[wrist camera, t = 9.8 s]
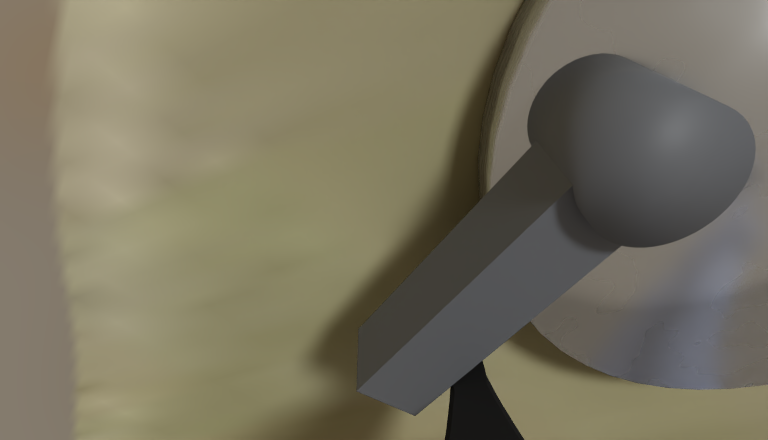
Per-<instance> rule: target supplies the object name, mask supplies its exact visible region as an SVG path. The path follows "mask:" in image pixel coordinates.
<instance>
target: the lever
mask: <svg viewBox="0 0 768 440" xmlns="http://www.w3.org/2000/svg"><path fill="white" fill-rule="evenodd" d="M527 132H528V138H529V142H530V144H531V147H530V148H529V149H528V150H527V151H526V152H525V154H524V155H523V156H522V157H521V158H520V159H519V160H518V161H517V162H516V163H515V164H514V165H513V166H512V167H511V168H510V169H509V170H508V171H507V173H506V174H505V175H504V176H503V177H502V178H501V179H500V180H499V181H498V182H497V183H496V184H495V185H494V186H493V187H492V188H491V189H490V191H489V192H488V193H487V194H486V195H485V196H484V197H483V198H482V199H481V200H480V201H479V202H478V203H477V204H476V205H475V206H474V207H473V208H472V210H471V211H470V212H469V213H468V214H467V215H466V216H465V217H464V218H463V219H462V220H461V221H460V222H459V223H458V224H457V225H456V226H455V228H454V229H453V230H452V231H451V232H450V233H449V234H448V235H447V236H446V237H445V238H444V239H443V240H442V241H441V242H440V243H439V244H438V245H437V247H436V248H435V249H434V250H433V251H432V252H431V253H430V254H429V255H428V256H427V257H426V258H425V259H424V260H423V261H422V262H421V263H420V265H419V266H418V267H417V268H416V269H415V270H414V271H413V272H412V273H411V274H410V275H409V276H408V277H407V278H406V279H405V280H404V281H403V282H402V284H401V285H400V286H399V287H398V288H397V289H396V290H395V291H394V292H393V293H392V294H391V295H390V296H389V297H388V298H387V299H386V300H385V301H384V303H383V304H382V305H381V306H380V307H379V308H378V309H377V310H376V311H375V312H374V313H373V314H372V315H371V316H370V317H369V318H368V319H367V321H366V322H365V323H364V324H363V325H362V326H361V327H360V328H359V331H358V361H357V392H359V393H362V394H364V395H367V396H369V397H371V398H374V399H376V400H378V401H381V402H383V403H386V404H388V405H390V406H393V407H395V408H397V409H400V410H402V411H405V412H407V413H409V414H412V415H414V416H416V415H417V414H418V413H419V412H421V411H422V410H423V409H424V408H425V407H427V406H428V405H429V404H430V403H432V402H433V401H434V400H435V399H436V398H438V397H439V396H440V395H441V394H442V393H444V392H445V391H446V390H447V389H448V388H450V387H451V386H452V385H453V384H455V383H456V382H457V381H458V380H459V379H461V378H462V377H463V376H464V375H465V374H467V373H468V372H469V371H470V370H472V369H473V368H474V367H475V366H476V365H478V364H479V363H480V362H481V361H482V360H484V359H485V358H486V357H487V356H489V355H490V354H491V353H492V352H493V351H495V350H496V349H497V348H498V347H499V346H501V345H502V344H503V343H504V342H506V341H507V340H508V339H509V338H510V337H512V336H513V335H514V334H515V333H516V332H518V331H519V330H520V329H521V328H522V327H524V326H525V325H526V324H527V323H529V322H530V321H531V320H532V319H533V318H535V317H536V316H537V315H538V314H539V313H541V312H542V311H543V310H544V309H546V308H547V307H548V306H549V305H550V304H552V303H553V302H554V301H555V300H556V299H558V298H559V297H560V296H561V295H563V294H564V293H565V292H566V291H567V290H569V289H570V288H571V287H572V286H573V285H575V284H576V283H577V282H578V281H579V280H581V279H582V278H583V277H584V276H586V275H587V274H588V273H589V272H590V271H592V270H593V269H594V268H595V267H596V266H598V265H599V264H600V263H601V262H603V261H604V260H605V259H606V258H607V257H609V256H610V255H611V254H612V253H613V252H615V251H616V250H617V249H618V248H620V247H621V246H625V247H633V248H646V247H655V246H660V245H665V244H668V243H672V242H675V241H678V240H680V239H683V238H685V237H687V236H689V235H691V234H693V233H695V232H697V231H699V230H700V229H702V228H704V227H705V226H707V225H708V224H710V223H711V222H712V221H714V220H715V219H716V218H717V217H719V216H720V215H721V214H722V213H723V212H724V211H725V210H726V209H727V208H728V207H729V206H730V205H731V204H732V203H733V201H734V200H735V199H736V198H737V197H738V195H739V194H740V192H741V191H742V189H743V188H744V186H745V184H746V182H747V180H748V179H749V176H750V174H751V171H752V169H753V165H754V160H755V152H756V145H755V138H754V134H753V131H752V129H751V127H750V125H749V123H748V122H747V120H746V119H745V118H744V117H743V116H742V115H741V114H740V113H739V112H737V111H736V110H735V109H733V108H731V107H729V106H727V105H725V104H723V103H721V102H719V101H717V100H714V99H712V98H710V97H708V96H706V95H704V94H702V93H700V92H697V91H695V90H693V89H691V88H689V87H687V86H685V85H683V84H680V83H678V82H676V81H674V80H672V79H670V78H668V77H666V76H663V75H661V74H659V73H657V72H655V71H653V70H651V69H649V68H646V67H644V66H642V65H640V64H638V63H636V62H634V61H631V60H629V59H627V58H625V57H622V56H619V55H615V54H605V53H601V54H592V55H588V56H584V57H581V58H579V59H576V60H574V61H572V62H570V63H568V64H566V65H565V66H563V67H562V68H560V69H559V70H558V71H556V72H555V73H554V74H553V75H552V76H551V77H550V78H549V79H548V80H547V81H546V82H545V83H544V84H543V86H542V87H541V88H540V90H539V91H538V93H537V95H536V96H535V98H534V100H533V102H532V105H531V108H530V111H529V115H528V121H527Z"/></svg>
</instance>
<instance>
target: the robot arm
mask: <svg viewBox="0 0 768 440" xmlns="http://www.w3.org/2000/svg"><path fill="white" fill-rule="evenodd" d="M445 440H524V438H523V437H522V435H521V434H520V432H519V431H518V429H517V428H516V426H515V424H514V423H513V421H512V420H511V418H510V416H509V415H508V413H507V412H506V410H505V408H504V407H503V405H502V403H501V402H500V400H499V398H498V396H497V395H496V393H495V391H494V389H493V387H492V385H491V383H490V382H489V380H488V378H487V376H486V373H485V368H484V365H483V361H481V362H480V363H479V364H478V365H476V366H475V367H474V368H473V369H472V370H470V371H469V372H468V373H467V374H465V375H464V376H463V377H462V378H461V379H459V380H458V381H457V382H456V383H455V384H453V385H452V386H451V389H450V403H449V412H448V420H447V429H446V436H445Z"/></svg>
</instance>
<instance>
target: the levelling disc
mask: <svg viewBox="0 0 768 440" xmlns="http://www.w3.org/2000/svg"><path fill="white" fill-rule="evenodd" d="M601 53H605V54H615V55H619V56H622V57H625V58H627V59H629V60H631V61H634V62H636V63H638V64H640V65H642V66H644V67H646V68H649V69H651V70H653V71H655V72H657V73H659V74H661V75H663V76H666V77H668V78H670V79H672V80H674V81H676V82H678V83H680V84H683V85H685V86H687V87H689V88H691V89H693V90H695V91H697V92H700V93H702V94H704V95H706V96H708V97H710V98H712V99H714V100H717V101H719V102H721V103H723V104H725V105H727V106H729V107H731V108H733V109H735V110H736V111H737V112H739V113H740V114H741V115H742V116H743V117H744V118H745V119H746V120H747V122H748V123H749V125H750V127H751V129H752V131H753V134H754V138H755V145H756V152H755V160H754V165H753V169H752V171H751V174H750V176H749V179H748V180H747V182H746V184H745V186H744V188H743V189H742V191H741V192H740V194H739V195H738V197H737V198H736V199H735V200H734V201H733V203H732V204H731V205H730V206H729V207H728V208H727V209H726V210H725V211H724V212H723V213H722V214H721V215H720V216H719V217H717V218H716V219H715V220H714V221H712V222H711V223H710V224H708V225H707V226H705V227H704V228H702V229H700V230H699V231H697V232H695V233H693V234H691V235H689V236H687V237H685V238H683V239H680V240H678V241H675V242H672V243H668V244H665V245H660V246H655V247H646V248H633V247H625V246H621V247H620V248H618V249H617V250H616V251H615V252H613V253H612V254H611V255H610V256H609V257H607V258H606V259H605V260H604V261H603V262H601V263H600V264H599V265H598V266H596V267H595V268H594V269H593V270H592V271H590V272H589V273H588V274H587V275H586V276H584V277H583V278H582V279H581V280H579V281H578V282H577V283H576V284H575V285H573V286H572V287H571V288H570V289H569V290H567V291H566V292H565V293H564V294H563V295H561V296H560V297H559V298H558V299H556V300H555V301H554V302H553V303H552V304H550V305H549V306H548V307H547V308H546V309H544V310H543V311H542V312H541V313H539V314H538V315H537V316H536V317H535V318H533V319H532V320H531V323H532V324H533V325H534V326H535V327H536V329H537V330H538V331H539V332H540V333H541V334H542V335H543V336H544V337H545V338H547V339H548V340H549V341H550V342H551V343H553V344H554V345H555V346H556V347H557V348H559V349H560V350H561V351H562V352H564V353H566V354H567V355H569V356H571V357H573V358H574V359H576V360H578V361H579V362H581V363H583V364H584V365H586V366H589V367H591V368H594V369H596V370H598V371H601V372H603V373H606V374H608V375H610V376H614V377H618V378H621V379H625V380H629V381H632V382H636V383H641V384H647V385H653V386H660V387H666V388H681V389H697V390H700V389H732V388H741V387H751V386H760V385H768V0H524V2H523V4H522V6H521V8H520V10H519V12H518V14H517V16H516V18H515V20H514V22H513V24H512V26H511V29H510V31H509V34H508V37H507V39H506V42H505V45H504V47H503V50H502V52H501V55H500V58H499V60H498V63H497V66H496V68H495V71H494V74H493V78H492V82H491V86H490V90H489V94H488V98H487V102H486V106H485V110H484V114H483V118H482V127H481V136H480V145H479V154H478V174H479V196H480V200H481V199H482V198H483V197H484V196H485V195H486V194H487V193H488V192H489V191H490V189H491V188H492V187H493V186H494V185H495V184H496V183H497V182H498V181H499V180H500V179H501V178H502V177H503V176H504V175H505V174H506V173H507V171H508V170H509V169H510V168H511V167H512V166H513V165H514V164H515V163H516V162H517V161H518V160H519V159H520V158H521V157H522V156H523V155H524V154H525V152H526V151H527V150H528V149H529V148H530V147H531V144H530V142H529V138H528V132H527V121H528V115H529V111H530V108H531V105H532V102H533V100H534V98H535V96H536V95H537V93H538V91H539V90H540V88H541V87H542V86H543V84H544V83H545V82H546V81H547V80H548V79H549V78H550V77H551V76H552V75H553V74H554V73H555V72H556V71H558V70H559V69H560V68H562V67H563V66H565V65H566V64H568V63H570V62H572V61H574V60H576V59H579V58H581V57H584V56H588V55H592V54H601Z"/></svg>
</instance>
